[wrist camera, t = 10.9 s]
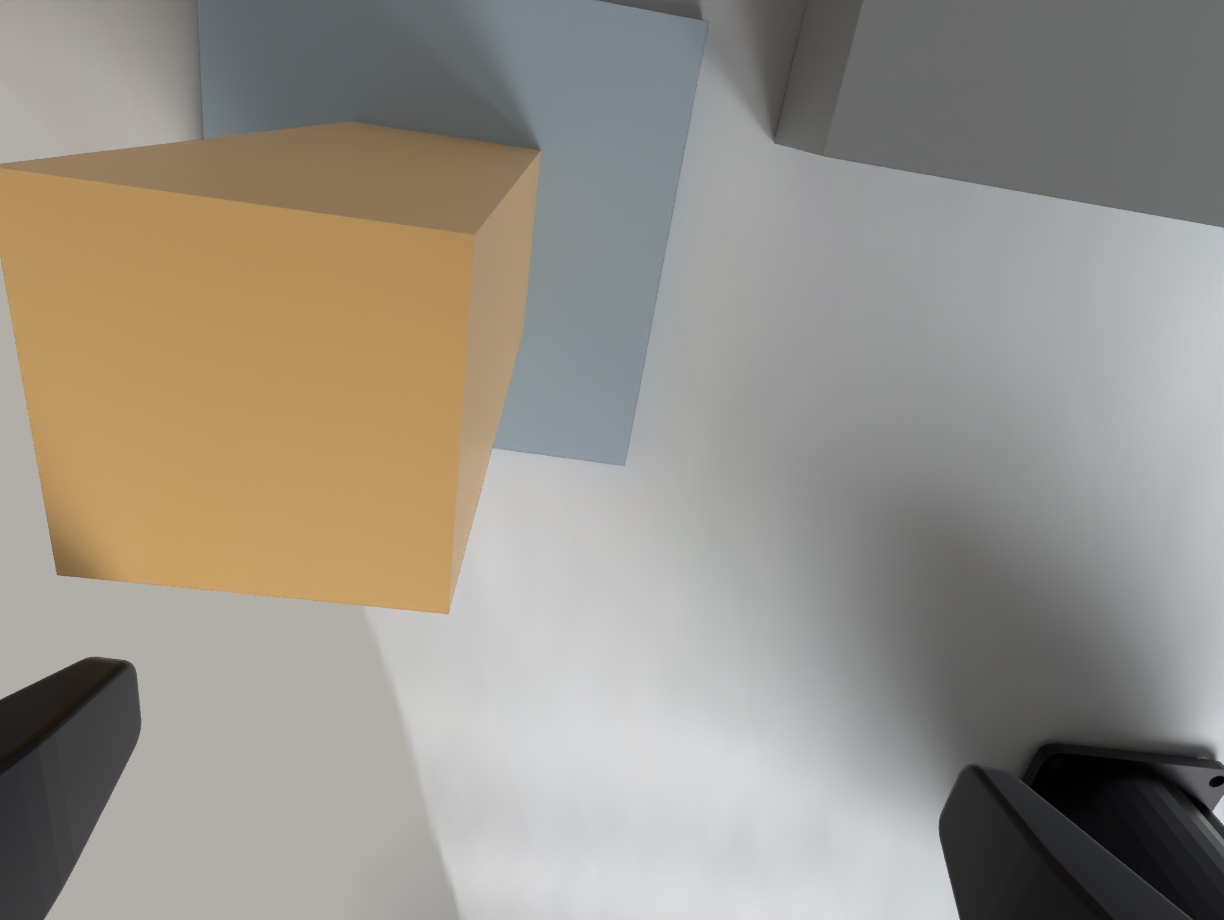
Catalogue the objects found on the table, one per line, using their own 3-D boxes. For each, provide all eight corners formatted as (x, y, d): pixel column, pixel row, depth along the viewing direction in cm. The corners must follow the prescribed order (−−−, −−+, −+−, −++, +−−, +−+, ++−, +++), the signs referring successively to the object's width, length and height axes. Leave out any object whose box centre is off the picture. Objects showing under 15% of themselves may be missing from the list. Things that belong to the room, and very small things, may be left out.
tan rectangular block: (541, 150, 17) (475, 235, 7) (523, 331, 18) (447, 614, 8) (350, 121, 16) (-15, 166, 6) (348, 309, 18) (56, 574, 8)
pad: (704, 23, 16) (708, 21, 16) (623, 456, 21) (624, 465, 20) (206, -72, 15) (193, -77, 15) (227, 402, 20) (216, 410, 19)
